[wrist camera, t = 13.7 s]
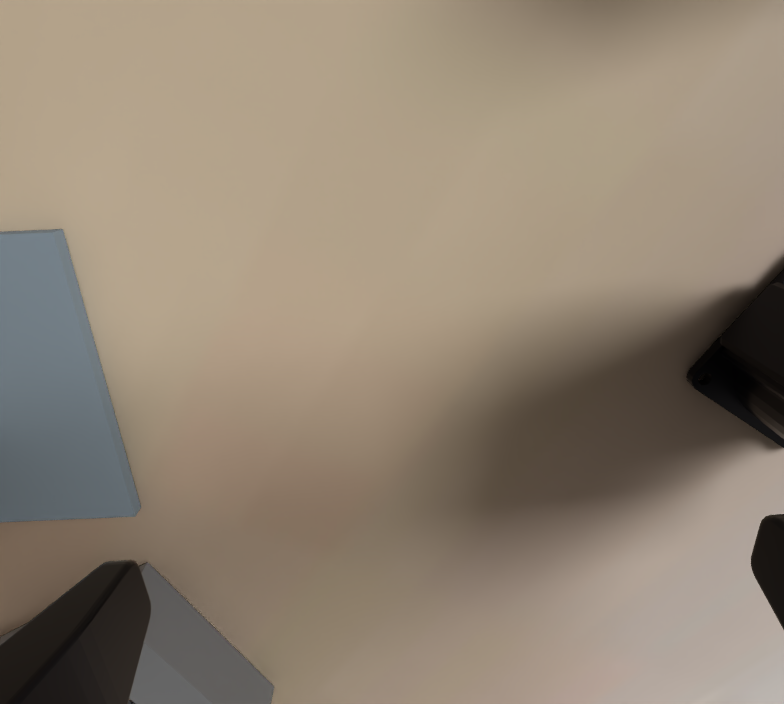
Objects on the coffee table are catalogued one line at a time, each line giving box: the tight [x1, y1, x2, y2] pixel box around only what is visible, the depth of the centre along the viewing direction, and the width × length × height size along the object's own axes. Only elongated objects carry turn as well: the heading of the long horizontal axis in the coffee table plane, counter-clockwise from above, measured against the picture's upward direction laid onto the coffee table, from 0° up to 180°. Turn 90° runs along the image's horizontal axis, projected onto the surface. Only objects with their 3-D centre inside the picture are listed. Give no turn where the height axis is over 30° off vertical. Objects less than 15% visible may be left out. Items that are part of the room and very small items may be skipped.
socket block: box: [0, 562, 274, 704], centre depth 26 cm, size 10×10×3 cm
